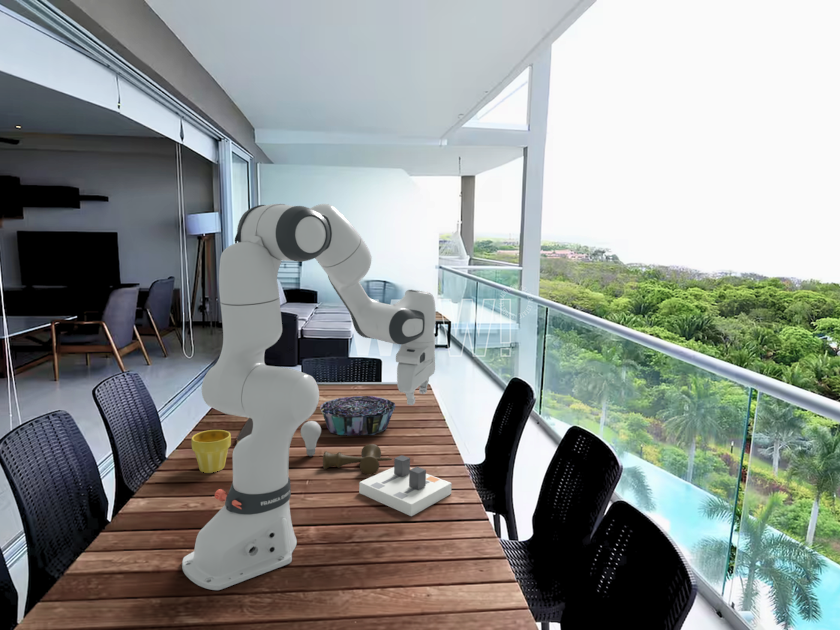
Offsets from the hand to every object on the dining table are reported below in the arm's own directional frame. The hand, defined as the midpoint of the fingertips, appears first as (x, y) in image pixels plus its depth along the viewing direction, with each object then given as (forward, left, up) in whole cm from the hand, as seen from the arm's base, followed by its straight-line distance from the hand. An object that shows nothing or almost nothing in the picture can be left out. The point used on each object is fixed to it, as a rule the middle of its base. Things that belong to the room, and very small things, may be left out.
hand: (417, 398), depth 140 cm
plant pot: (-34, +47, -23) cm, 63 cm away
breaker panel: (-8, -4, -23) cm, 25 cm away
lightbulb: (-9, +34, -23) cm, 43 cm away
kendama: (-6, +17, -24) cm, 30 cm away
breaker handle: (-5, 0, -20) cm, 21 cm away
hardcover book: (-6, +62, -24) cm, 67 cm away
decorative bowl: (+19, +44, -24) cm, 53 cm away
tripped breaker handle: (-8, -8, -20) cm, 23 cm away
